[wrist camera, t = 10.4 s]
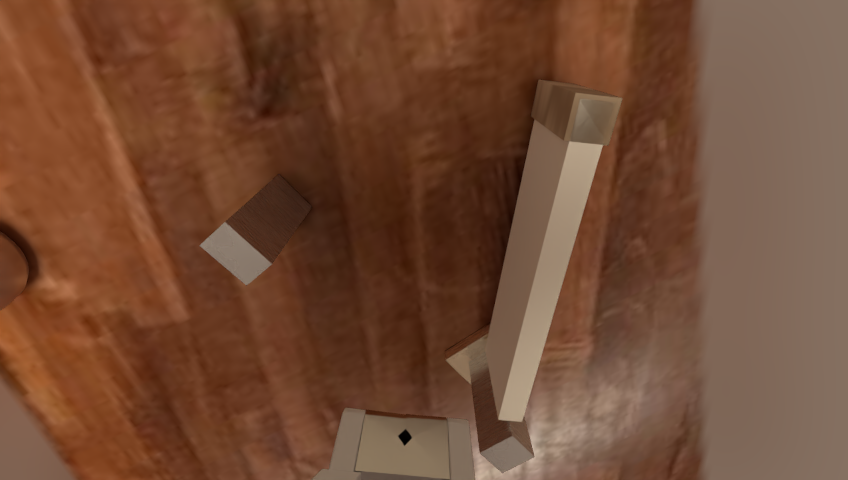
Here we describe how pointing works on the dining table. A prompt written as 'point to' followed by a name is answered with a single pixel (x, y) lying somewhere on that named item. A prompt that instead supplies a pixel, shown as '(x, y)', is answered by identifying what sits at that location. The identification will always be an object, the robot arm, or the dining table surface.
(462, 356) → the hinge post
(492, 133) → the dining table surface
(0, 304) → the plastic bottle
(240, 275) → the post
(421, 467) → the robot arm
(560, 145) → the gate
